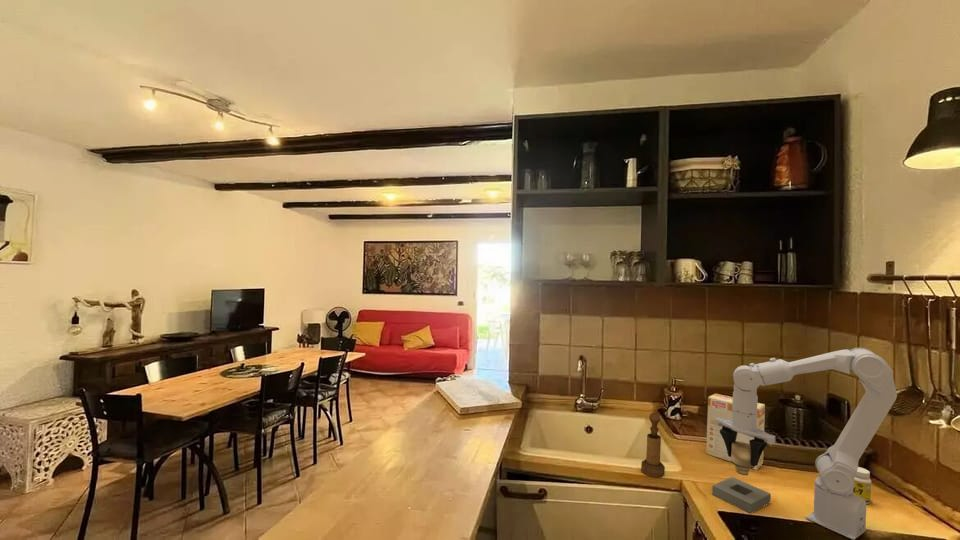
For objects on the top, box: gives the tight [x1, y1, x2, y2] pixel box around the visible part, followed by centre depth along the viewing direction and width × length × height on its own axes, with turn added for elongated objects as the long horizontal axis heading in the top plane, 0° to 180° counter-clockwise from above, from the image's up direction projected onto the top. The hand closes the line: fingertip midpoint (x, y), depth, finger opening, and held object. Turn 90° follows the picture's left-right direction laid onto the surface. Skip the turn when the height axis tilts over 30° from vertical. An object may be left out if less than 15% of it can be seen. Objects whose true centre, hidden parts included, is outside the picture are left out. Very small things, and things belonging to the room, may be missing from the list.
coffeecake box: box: [705, 393, 766, 471], centre depth 137 cm, size 15×7×20 cm, turn 42°
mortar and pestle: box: [640, 412, 666, 478], centre depth 127 cm, size 7×6×18 cm
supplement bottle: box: [853, 466, 872, 505], centre depth 115 cm, size 5×5×8 cm
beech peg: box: [731, 441, 754, 476], centre depth 114 cm, size 5×5×8 cm
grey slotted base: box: [711, 476, 772, 514], centre depth 114 cm, size 10×10×2 cm
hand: (742, 460), depth 114 cm, fingers closed on beech peg, 5 cm apart
